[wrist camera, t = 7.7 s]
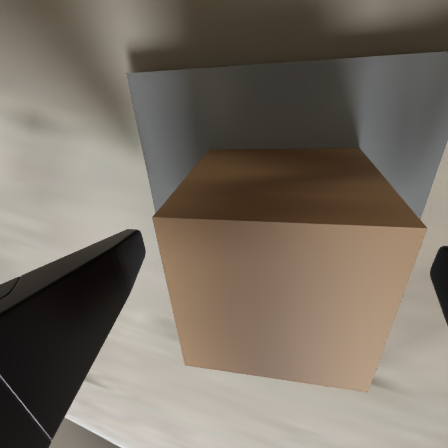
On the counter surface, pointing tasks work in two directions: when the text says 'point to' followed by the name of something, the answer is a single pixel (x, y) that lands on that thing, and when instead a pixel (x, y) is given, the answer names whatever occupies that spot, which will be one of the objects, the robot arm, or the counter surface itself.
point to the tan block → (287, 263)
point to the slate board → (299, 115)
